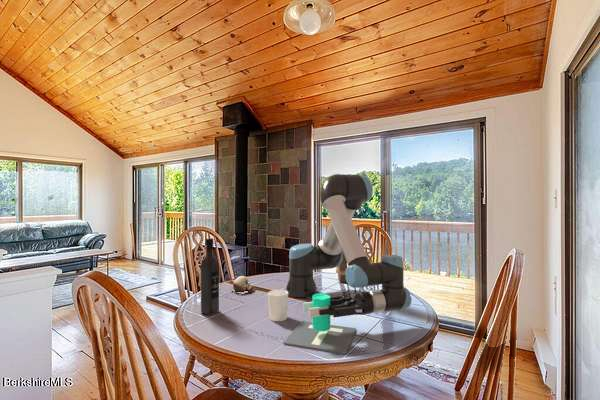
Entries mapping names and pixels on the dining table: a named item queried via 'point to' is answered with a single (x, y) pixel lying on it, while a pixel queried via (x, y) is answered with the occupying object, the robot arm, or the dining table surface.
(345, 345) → the letter pad
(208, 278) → the black olive oil bottle
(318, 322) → the candle
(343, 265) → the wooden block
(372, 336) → the dining table surface
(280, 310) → the white cup
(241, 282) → the skull
